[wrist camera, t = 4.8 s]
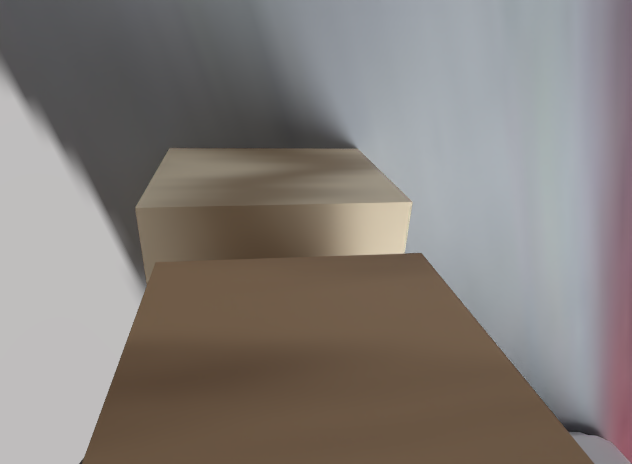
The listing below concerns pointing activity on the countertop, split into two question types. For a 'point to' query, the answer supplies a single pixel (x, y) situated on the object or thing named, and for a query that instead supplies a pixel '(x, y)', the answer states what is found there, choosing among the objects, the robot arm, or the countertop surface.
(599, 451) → the supplement can
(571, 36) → the countertop surface
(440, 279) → the walnut cube
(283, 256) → the maple block
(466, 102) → the countertop surface
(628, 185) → the countertop surface
